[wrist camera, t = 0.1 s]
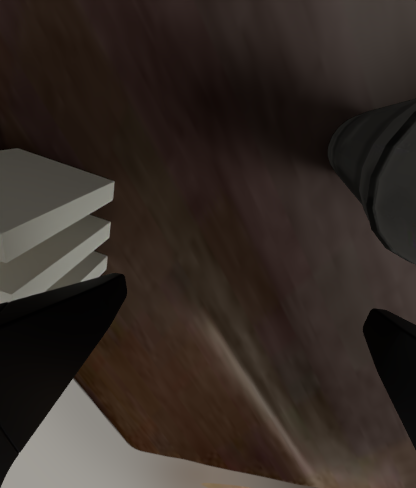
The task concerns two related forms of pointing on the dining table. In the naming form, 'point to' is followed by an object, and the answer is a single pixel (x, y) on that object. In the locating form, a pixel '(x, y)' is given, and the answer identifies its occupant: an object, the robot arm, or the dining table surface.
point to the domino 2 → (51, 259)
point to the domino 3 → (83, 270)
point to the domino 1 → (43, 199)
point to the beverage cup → (382, 171)
